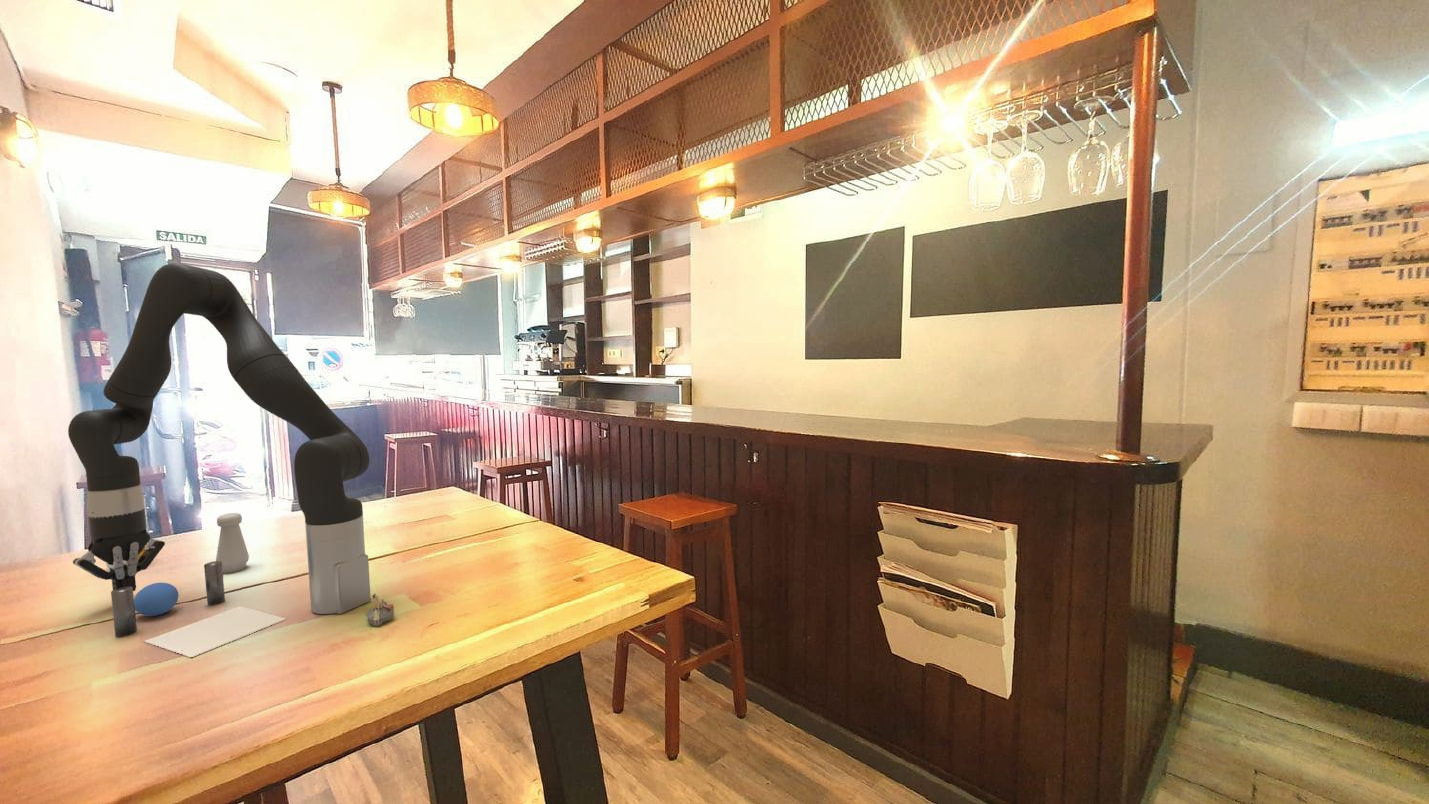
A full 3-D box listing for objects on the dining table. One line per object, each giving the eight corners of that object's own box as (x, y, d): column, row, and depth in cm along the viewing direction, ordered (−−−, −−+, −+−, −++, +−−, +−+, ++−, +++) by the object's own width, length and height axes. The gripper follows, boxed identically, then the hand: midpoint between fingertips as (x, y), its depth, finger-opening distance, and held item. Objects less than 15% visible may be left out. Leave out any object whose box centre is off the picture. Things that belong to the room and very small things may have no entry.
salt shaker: (219, 576, 121) (214, 519, 120) (213, 570, 125) (208, 515, 124) (253, 568, 126) (248, 513, 125) (246, 563, 130) (241, 509, 128)
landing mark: (286, 619, 101) (285, 618, 101) (191, 658, 88) (190, 657, 88) (240, 607, 106) (240, 606, 106) (144, 642, 93) (144, 641, 93)
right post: (228, 600, 109) (224, 561, 109) (212, 606, 107) (208, 566, 106) (220, 598, 110) (217, 560, 110) (204, 604, 108) (201, 564, 107)
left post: (140, 631, 97) (135, 587, 97) (119, 638, 95) (115, 593, 94) (132, 628, 98) (128, 585, 98) (112, 635, 96) (107, 591, 95)
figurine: (370, 615, 102) (368, 586, 101) (396, 612, 104) (395, 583, 103) (363, 632, 98) (361, 602, 96) (391, 629, 99) (390, 599, 98)
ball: (186, 585, 104) (170, 573, 107) (143, 596, 99) (128, 583, 101) (183, 613, 105) (168, 601, 108) (141, 626, 100) (126, 613, 102)
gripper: (77, 521, 100) (87, 613, 101) (171, 503, 112) (178, 585, 113) (57, 517, 103) (67, 606, 104) (151, 500, 115) (158, 580, 116)
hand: (125, 595), depth 109 cm, fingers closed
